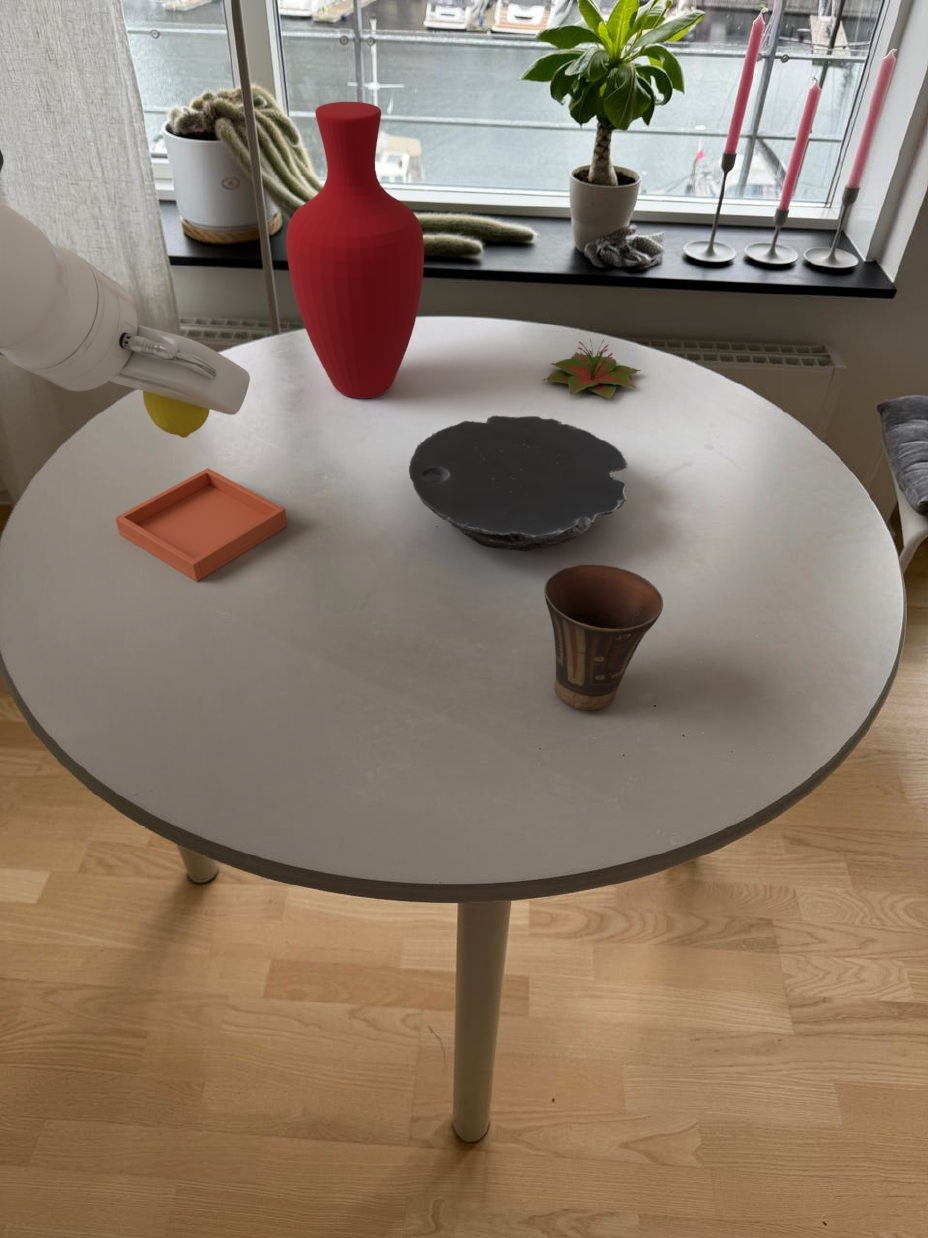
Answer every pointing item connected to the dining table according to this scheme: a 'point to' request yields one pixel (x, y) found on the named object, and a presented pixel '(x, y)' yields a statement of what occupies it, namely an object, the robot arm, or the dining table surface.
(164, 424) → the lemon
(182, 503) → the tray
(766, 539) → the dining table surface
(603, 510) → the board
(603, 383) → the lily flower
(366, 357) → the vase
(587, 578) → the cup
